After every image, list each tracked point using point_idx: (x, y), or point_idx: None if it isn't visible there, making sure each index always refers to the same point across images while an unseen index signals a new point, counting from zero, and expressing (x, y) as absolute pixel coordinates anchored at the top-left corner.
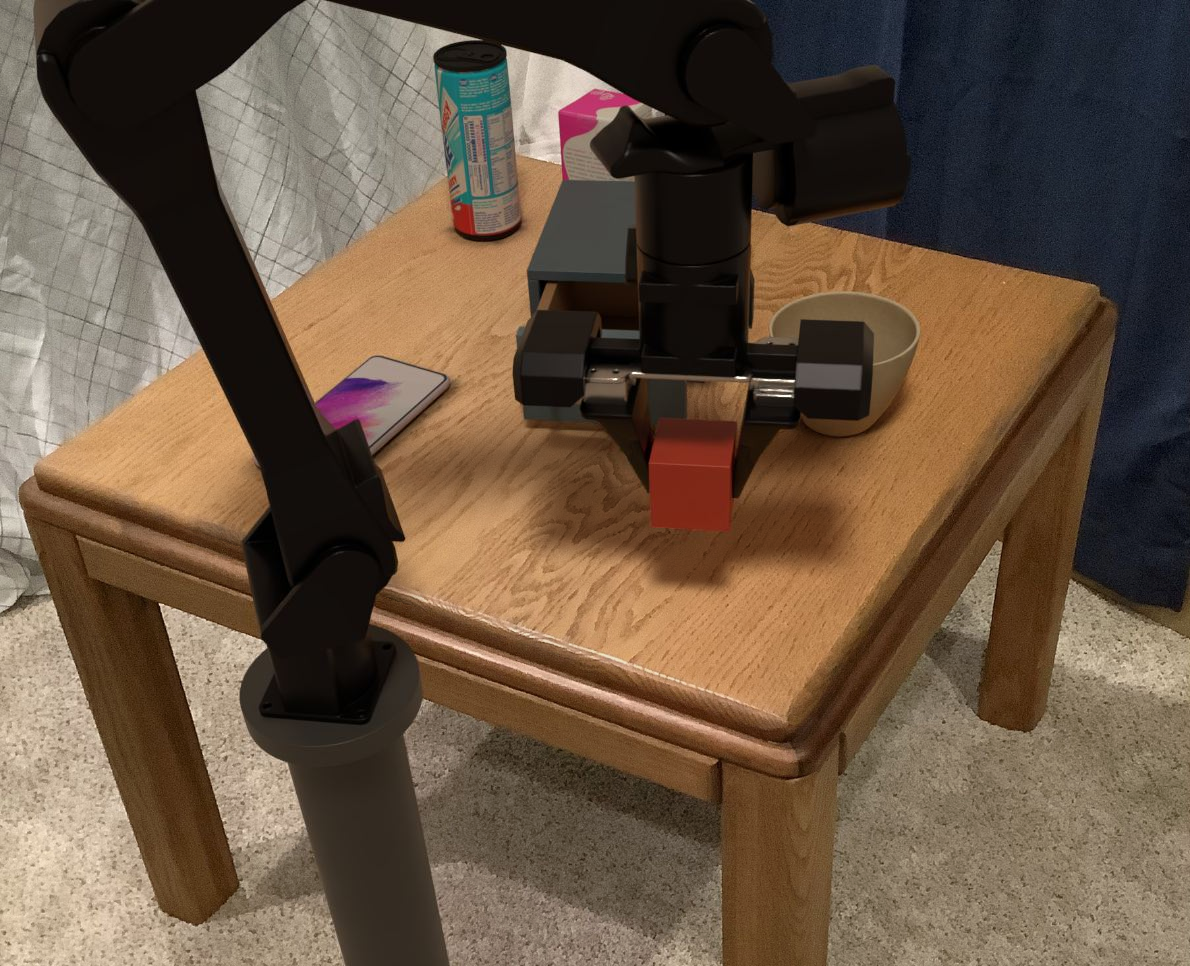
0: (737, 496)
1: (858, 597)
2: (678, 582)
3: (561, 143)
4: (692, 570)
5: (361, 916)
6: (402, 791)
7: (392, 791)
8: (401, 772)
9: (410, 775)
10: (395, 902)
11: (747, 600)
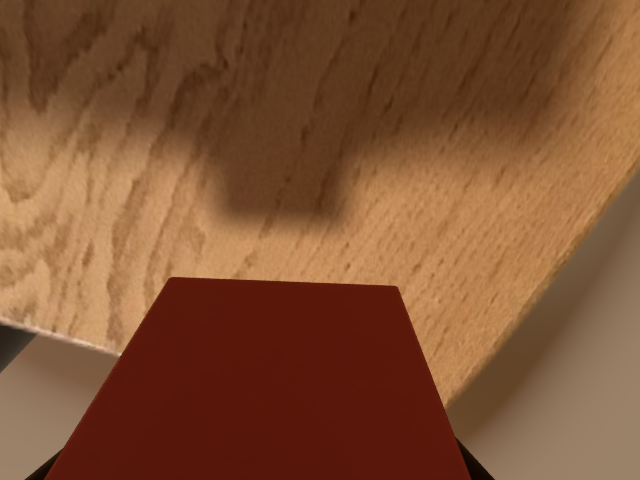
0: None
1: (562, 238)
2: (262, 216)
3: None
4: (284, 183)
5: None
6: (20, 341)
7: (9, 360)
8: (5, 353)
9: None
10: None
11: (381, 254)
